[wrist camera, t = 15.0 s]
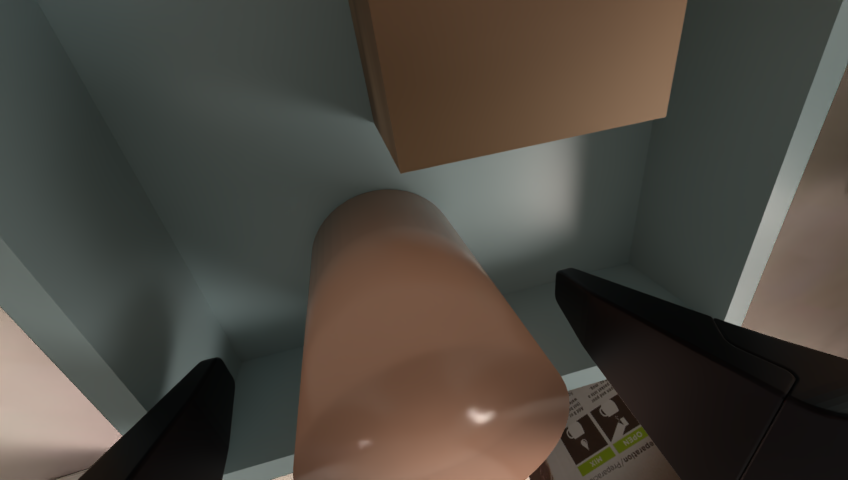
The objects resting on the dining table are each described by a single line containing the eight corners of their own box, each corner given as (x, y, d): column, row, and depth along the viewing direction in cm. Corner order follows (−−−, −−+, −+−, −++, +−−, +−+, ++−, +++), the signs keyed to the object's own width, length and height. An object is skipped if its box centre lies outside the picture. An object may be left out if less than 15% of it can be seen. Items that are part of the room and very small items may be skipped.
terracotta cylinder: (453, 179, 12) (589, 314, 6) (456, 300, 14) (554, 487, 8) (295, 201, 11) (252, 391, 5) (327, 327, 13) (326, 560, 7)
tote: (722, -268, 9) (1115, -597, 4) (628, 264, 16) (735, 340, 12) (-109, -217, 6) (-1012, -765, 2) (233, 366, 14) (187, 504, 10)
